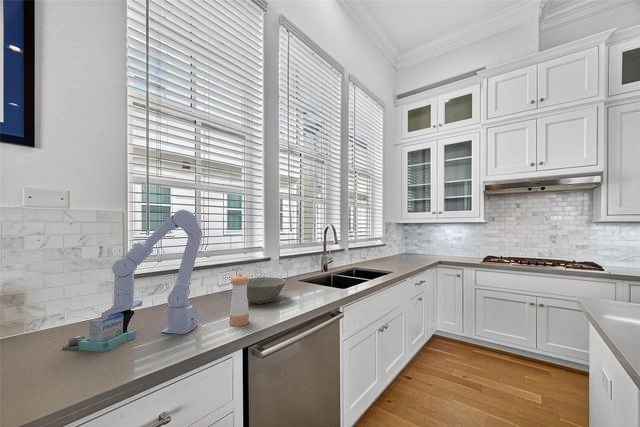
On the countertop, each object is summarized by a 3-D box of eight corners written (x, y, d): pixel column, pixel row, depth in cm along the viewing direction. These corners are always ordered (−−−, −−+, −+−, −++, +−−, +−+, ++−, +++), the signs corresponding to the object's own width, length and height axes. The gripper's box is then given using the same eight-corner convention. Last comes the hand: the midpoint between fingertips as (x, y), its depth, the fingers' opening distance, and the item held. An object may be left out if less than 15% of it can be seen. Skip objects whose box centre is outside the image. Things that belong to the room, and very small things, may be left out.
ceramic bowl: (229, 303, 132) (230, 282, 133) (264, 293, 151) (264, 275, 151) (261, 311, 120) (261, 289, 120) (294, 299, 138) (294, 280, 139)
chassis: (136, 337, 92) (137, 328, 92) (106, 353, 81) (107, 342, 81) (96, 334, 94) (97, 325, 94) (62, 349, 83) (62, 338, 83)
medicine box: (100, 350, 83) (101, 321, 83) (88, 348, 84) (89, 320, 84) (123, 339, 91) (123, 313, 91) (112, 338, 92) (112, 312, 92)
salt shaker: (252, 322, 107) (253, 273, 107) (235, 327, 101) (236, 276, 102) (242, 318, 112) (243, 271, 112) (225, 322, 106) (226, 273, 107)
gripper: (131, 287, 102) (130, 324, 101) (93, 298, 87) (92, 341, 87) (148, 288, 101) (146, 325, 100) (112, 299, 86) (111, 342, 86)
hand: (122, 332), depth 93 cm, fingers closed
